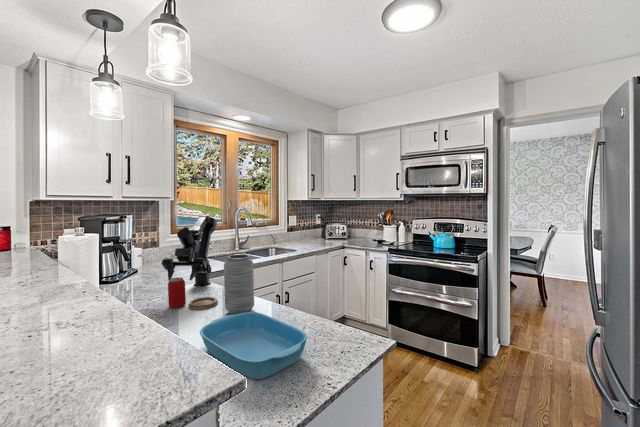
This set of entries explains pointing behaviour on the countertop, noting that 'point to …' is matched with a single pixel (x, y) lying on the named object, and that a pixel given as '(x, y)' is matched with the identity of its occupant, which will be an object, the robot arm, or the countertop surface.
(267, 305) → the countertop surface
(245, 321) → the casserole dish
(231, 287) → the vase
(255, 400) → the countertop surface
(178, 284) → the beverage can
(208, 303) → the coaster
